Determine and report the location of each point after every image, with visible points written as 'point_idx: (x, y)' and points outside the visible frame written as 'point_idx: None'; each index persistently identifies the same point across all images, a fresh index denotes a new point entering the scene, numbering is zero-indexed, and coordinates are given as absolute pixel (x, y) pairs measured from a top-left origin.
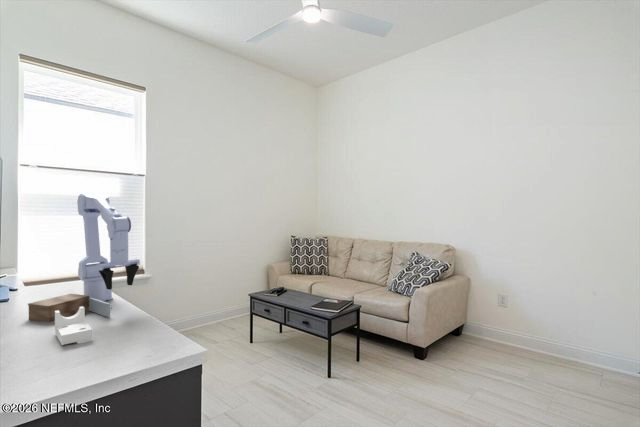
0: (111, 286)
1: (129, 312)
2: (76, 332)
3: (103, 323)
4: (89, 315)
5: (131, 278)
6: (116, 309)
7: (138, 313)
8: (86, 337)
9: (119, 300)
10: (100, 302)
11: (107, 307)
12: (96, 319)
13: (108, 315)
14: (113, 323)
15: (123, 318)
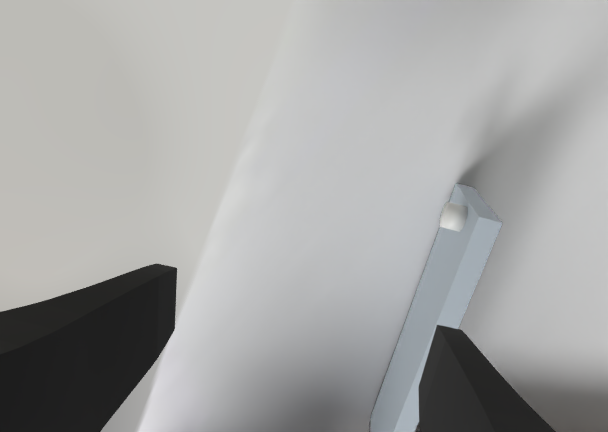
0: (455, 340)
1: (307, 148)
2: None
3: (603, 95)
4: None
5: (115, 305)
6: (289, 296)
7: (301, 52)
8: None
9: (146, 425)
10: None
11: (492, 214)
12: (522, 236)
13: (470, 189)
14: (588, 9)
15: (447, 53)
